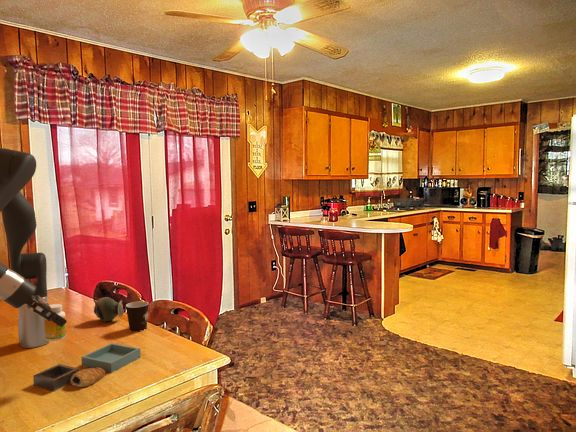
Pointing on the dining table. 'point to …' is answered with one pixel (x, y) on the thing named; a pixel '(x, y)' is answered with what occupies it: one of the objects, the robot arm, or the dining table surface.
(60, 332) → the supplement bottle
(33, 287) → the robot arm
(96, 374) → the pastry
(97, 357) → the tray
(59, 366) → the collar
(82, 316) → the dining table surface
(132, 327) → the coffee mug
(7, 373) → the dining table surface
